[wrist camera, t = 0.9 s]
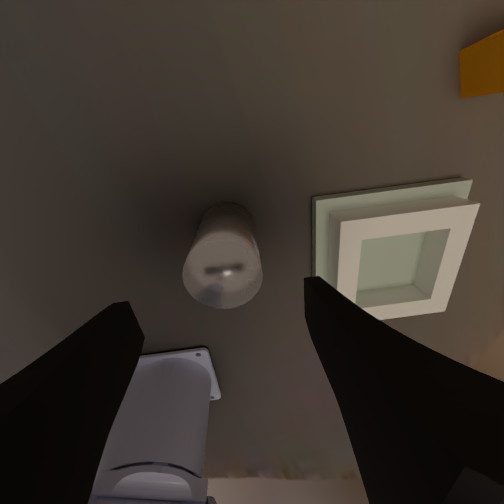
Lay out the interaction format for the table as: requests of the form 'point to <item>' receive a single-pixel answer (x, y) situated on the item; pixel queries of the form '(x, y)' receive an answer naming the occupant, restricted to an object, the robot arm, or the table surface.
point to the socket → (394, 244)
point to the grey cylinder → (224, 258)
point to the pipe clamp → (483, 66)
